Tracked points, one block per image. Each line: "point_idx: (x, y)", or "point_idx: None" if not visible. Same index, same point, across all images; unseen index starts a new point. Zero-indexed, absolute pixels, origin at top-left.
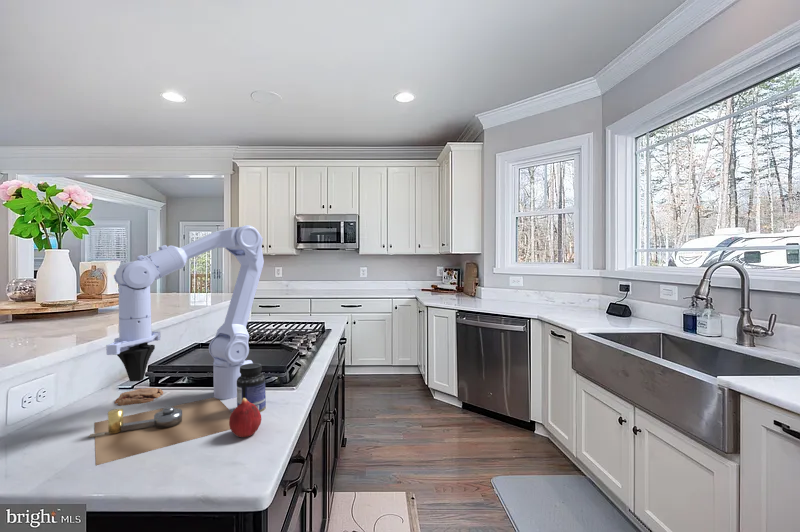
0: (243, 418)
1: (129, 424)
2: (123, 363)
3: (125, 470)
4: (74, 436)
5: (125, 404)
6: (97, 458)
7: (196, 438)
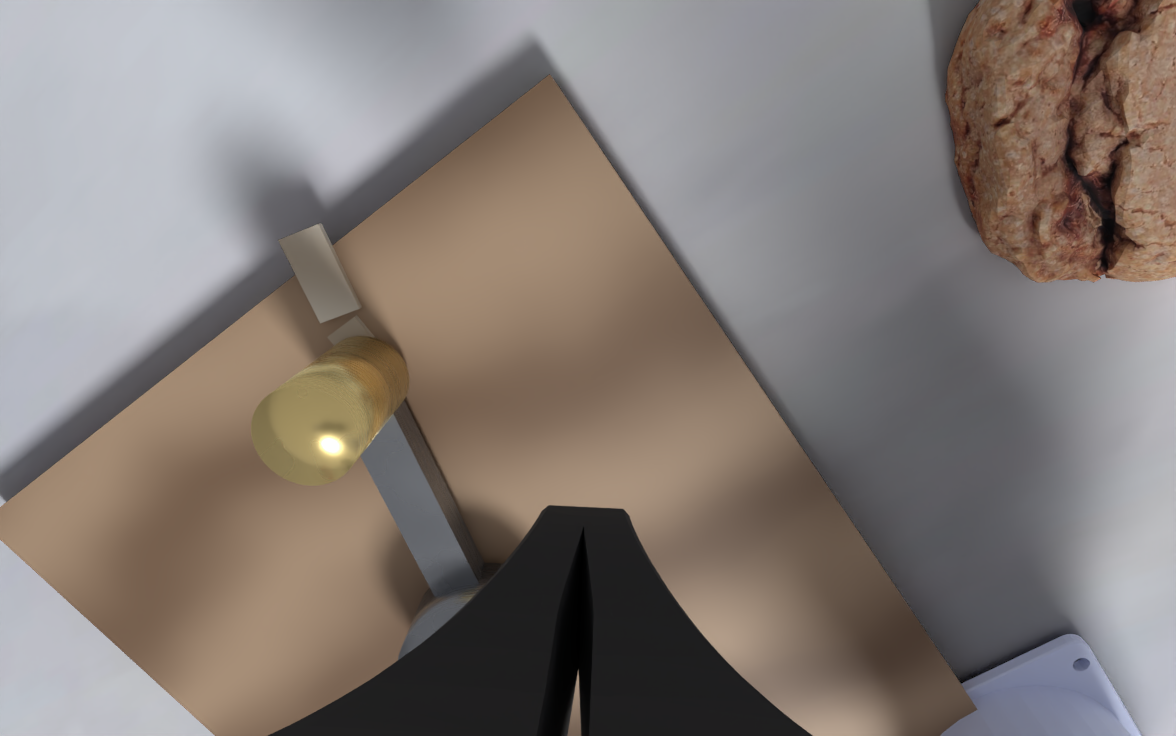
0: None
1: (376, 470)
2: (419, 650)
3: (44, 625)
4: (393, 35)
5: (972, 74)
6: (42, 484)
7: None
